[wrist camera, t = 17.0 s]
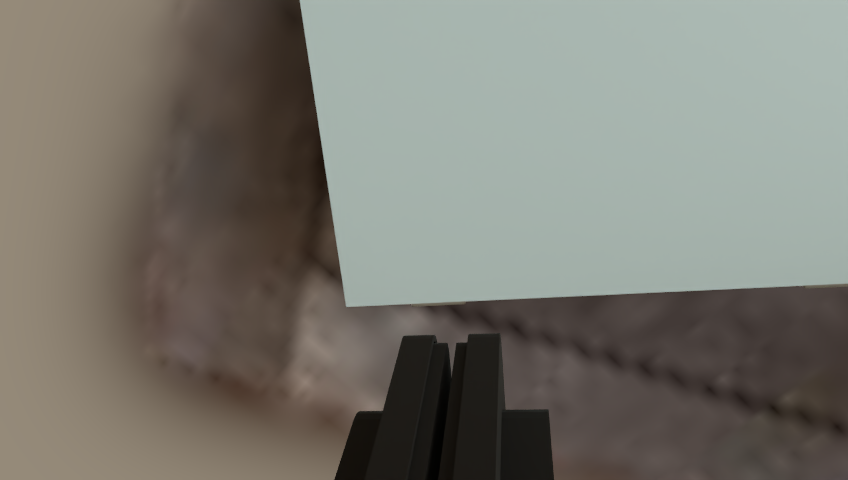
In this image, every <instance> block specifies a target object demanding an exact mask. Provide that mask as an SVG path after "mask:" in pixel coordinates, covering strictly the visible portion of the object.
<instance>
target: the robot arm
mask: <svg viewBox="0 0 848 480" xmlns="http://www.w3.org/2000/svg"><path fill="white" fill-rule="evenodd" d="M335 480H554V475H553V462H552V449H551V436H550V423H549V411H548V410H505V395H504V379H503V363H502V347H501V335H500V333H497V334H469V335H468V343H456V350H455V357H454V365H453V372H452V378H451V368H450V358H449V348H448V344H447V343H437V340H436V336H435V335H418V336H403V338H402V342H401V346H400V349H399V353H398V357H397V360H396V364H395V368H394V372H393V375H392V379H391V383H390V387H389V390H388V394H387V398H386V402H385V405H384V409H383V411H359V412H358V413H357V414H356V416H355V418H354V421H353V424H352V427H351V430H350V433H349V436H348V439H347V442H346V446H345V449H344V452H343V455H342V458H341V461H340V464H339V467H338V470H337V473H336V477H335Z"/></svg>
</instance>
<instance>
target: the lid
mask: <svg viewBox="0 0 848 480" xmlns="http://www.w3.org/2000/svg"><path fill="white" fill-rule="evenodd" d="M300 5H301V12H302V19H303V25H304V32H305V38H306V45H307V52H308V58H309V65H310V71H311V78H312V84H313V91H314V98H315V104H316V111H317V117H318V124H319V131H320V137H321V144H322V150H323V157H324V164H325V170H326V177H327V183H328V190H329V197H330V203H331V210H332V216H333V223H334V229H335V236H336V243H337V249H338V256H339V262H340V269H341V276H342V282H343V289H344V295H345V302H346V307H356V306H377V305H399V304H420V303H442V302H463V301H484V300H506V299H527V298H549V297H570V296H592V295H613V294H635V293H656V292H677V291H699V290H720V289H742V288H763V287H785V286H806V285H827V284H848V0H300Z"/></svg>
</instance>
